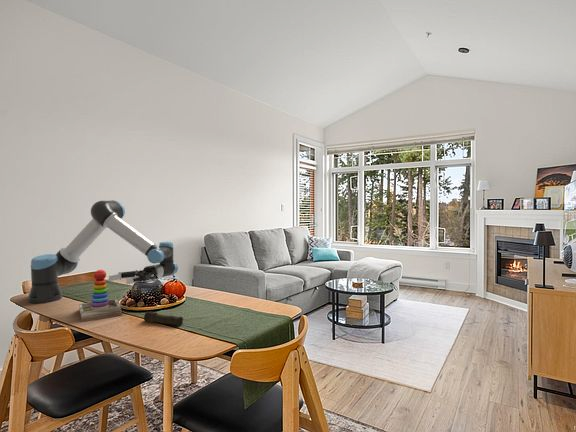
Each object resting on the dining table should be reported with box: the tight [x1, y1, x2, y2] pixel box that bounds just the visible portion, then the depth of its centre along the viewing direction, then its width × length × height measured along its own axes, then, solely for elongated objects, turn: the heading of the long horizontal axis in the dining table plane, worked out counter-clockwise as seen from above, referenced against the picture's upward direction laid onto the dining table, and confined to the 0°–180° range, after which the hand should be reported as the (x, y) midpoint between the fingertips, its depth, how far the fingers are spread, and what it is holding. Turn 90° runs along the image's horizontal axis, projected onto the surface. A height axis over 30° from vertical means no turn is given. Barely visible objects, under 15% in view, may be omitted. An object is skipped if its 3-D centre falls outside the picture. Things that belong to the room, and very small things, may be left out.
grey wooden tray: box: [78, 298, 123, 323], centre depth 167 cm, size 20×16×4 cm
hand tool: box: [143, 311, 184, 328], centre depth 153 cm, size 19×4×5 cm, turn 69°
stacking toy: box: [90, 269, 109, 310], centre depth 167 cm, size 8×8×19 cm
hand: (117, 279), depth 176 cm, fingers open, 13 cm apart
